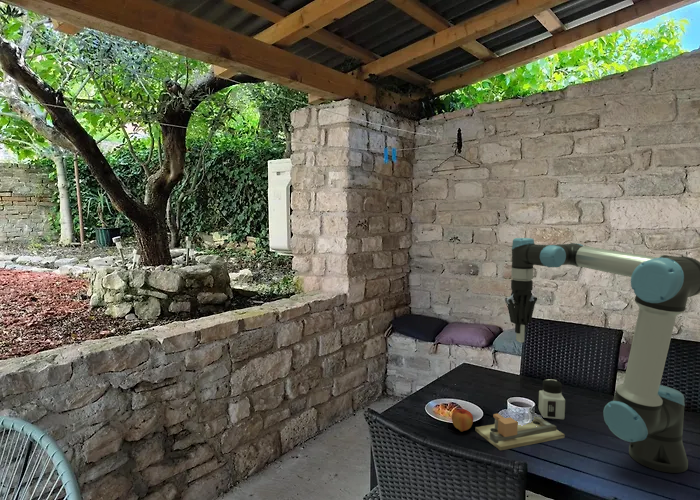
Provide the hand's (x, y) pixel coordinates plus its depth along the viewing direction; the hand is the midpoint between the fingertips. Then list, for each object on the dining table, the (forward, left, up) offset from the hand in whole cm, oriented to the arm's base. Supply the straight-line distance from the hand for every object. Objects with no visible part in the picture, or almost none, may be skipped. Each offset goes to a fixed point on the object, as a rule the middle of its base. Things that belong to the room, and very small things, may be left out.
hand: (520, 341), depth 169 cm
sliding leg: (-14, +17, -27) cm, 35 cm away
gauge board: (-13, +10, -28) cm, 33 cm away
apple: (-4, +27, -29) cm, 40 cm away
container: (-4, -12, -29) cm, 31 cm away
